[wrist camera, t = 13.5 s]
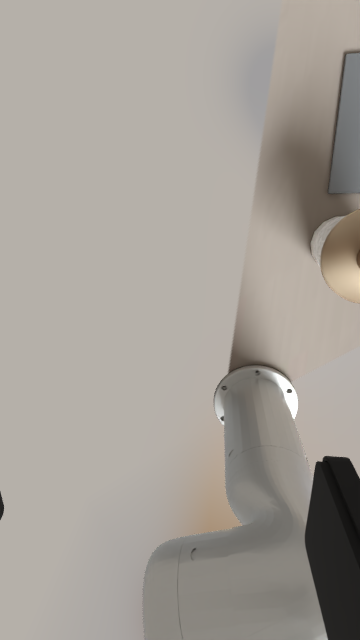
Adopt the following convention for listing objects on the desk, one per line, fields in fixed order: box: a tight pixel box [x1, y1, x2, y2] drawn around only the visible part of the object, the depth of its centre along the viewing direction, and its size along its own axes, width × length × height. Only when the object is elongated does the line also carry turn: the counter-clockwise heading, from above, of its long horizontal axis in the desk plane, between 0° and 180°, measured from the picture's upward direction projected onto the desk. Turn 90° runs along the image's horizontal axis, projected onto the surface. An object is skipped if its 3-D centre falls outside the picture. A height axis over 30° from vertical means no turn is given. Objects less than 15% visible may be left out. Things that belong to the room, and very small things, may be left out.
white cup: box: [311, 215, 347, 267], centre depth 38 cm, size 8×8×10 cm
